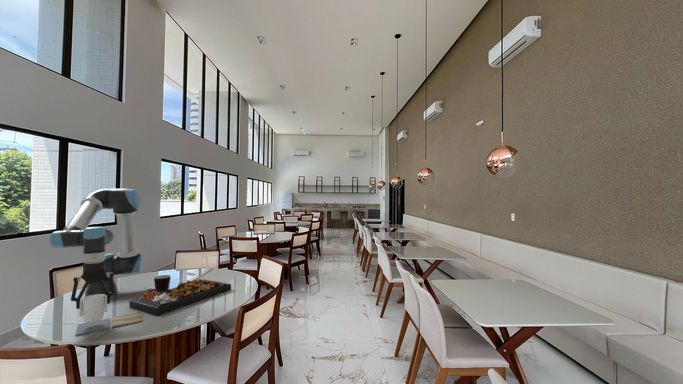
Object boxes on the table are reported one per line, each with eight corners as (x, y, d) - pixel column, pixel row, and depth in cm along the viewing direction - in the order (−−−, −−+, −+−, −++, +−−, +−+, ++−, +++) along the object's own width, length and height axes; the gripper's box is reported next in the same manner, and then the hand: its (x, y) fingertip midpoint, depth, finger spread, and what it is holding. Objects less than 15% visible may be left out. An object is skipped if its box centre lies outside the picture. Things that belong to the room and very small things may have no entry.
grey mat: (78, 325, 132) (78, 324, 132) (109, 319, 139) (109, 318, 139) (75, 336, 122) (75, 334, 122) (109, 328, 128) (109, 327, 128)
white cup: (90, 316, 134) (91, 294, 134) (109, 315, 134) (109, 293, 135) (76, 323, 126) (77, 300, 126) (96, 322, 127) (96, 299, 127)
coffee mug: (162, 296, 171) (162, 279, 172) (150, 295, 173) (150, 278, 173) (177, 290, 183) (177, 273, 183) (165, 289, 184) (165, 273, 185)
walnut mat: (112, 318, 139) (112, 317, 139) (140, 313, 146) (140, 311, 146) (112, 328, 129) (112, 326, 129) (142, 321, 136) (142, 320, 136)
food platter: (157, 317, 142) (157, 296, 142) (129, 309, 153) (129, 289, 154) (231, 291, 182) (231, 274, 182) (204, 286, 193) (204, 270, 194)
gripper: (61, 266, 121) (60, 322, 121) (123, 260, 134) (122, 310, 134) (63, 263, 127) (62, 316, 127) (122, 257, 140) (122, 305, 139)
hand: (93, 313), depth 130 cm, fingers closed on white cup, 8 cm apart
